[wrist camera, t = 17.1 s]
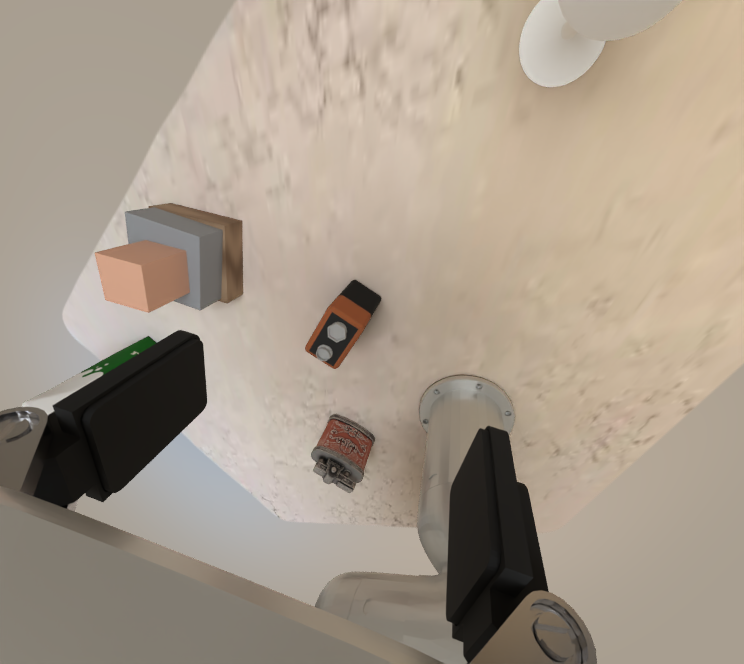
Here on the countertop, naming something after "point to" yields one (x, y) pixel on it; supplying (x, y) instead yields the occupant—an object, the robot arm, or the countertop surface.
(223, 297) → the tower base
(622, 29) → the champagne flute
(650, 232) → the countertop surface
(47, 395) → the milk carton
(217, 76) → the countertop surface
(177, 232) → the tower top
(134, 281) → the pillar block
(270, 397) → the countertop surface
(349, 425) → the lighter
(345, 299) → the battery
